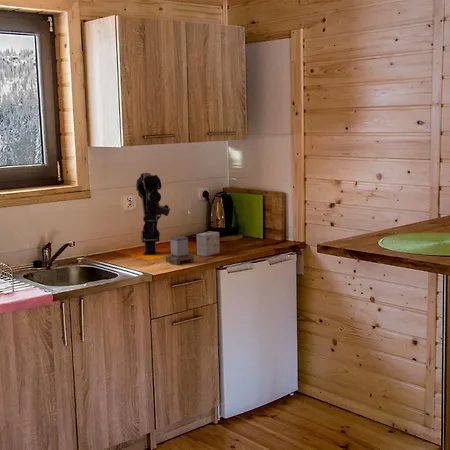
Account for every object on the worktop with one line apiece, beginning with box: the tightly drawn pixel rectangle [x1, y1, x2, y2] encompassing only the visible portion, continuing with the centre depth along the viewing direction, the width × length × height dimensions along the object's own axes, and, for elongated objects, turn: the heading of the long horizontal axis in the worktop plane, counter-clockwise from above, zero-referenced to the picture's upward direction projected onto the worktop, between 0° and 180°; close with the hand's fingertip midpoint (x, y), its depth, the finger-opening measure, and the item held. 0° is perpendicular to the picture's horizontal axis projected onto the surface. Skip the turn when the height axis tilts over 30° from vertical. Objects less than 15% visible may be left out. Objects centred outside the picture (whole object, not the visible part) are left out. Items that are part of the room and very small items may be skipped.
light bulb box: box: [196, 230, 221, 257], centre depth 350 cm, size 11×7×11 cm, turn 141°
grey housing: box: [170, 235, 189, 258], centre depth 331 cm, size 6×6×9 cm
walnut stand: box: [164, 254, 195, 266], centre depth 332 cm, size 10×10×3 cm
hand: (153, 232), depth 341 cm, fingers open, 9 cm apart
